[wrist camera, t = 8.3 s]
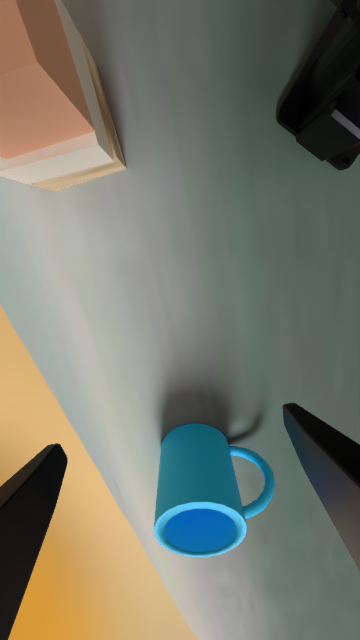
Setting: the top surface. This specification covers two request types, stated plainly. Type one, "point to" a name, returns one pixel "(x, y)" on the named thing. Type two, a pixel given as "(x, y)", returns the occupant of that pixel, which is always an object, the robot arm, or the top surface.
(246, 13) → the top surface
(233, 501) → the mug
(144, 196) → the top surface
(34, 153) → the slab upper
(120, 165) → the slab lower
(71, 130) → the coral cube
